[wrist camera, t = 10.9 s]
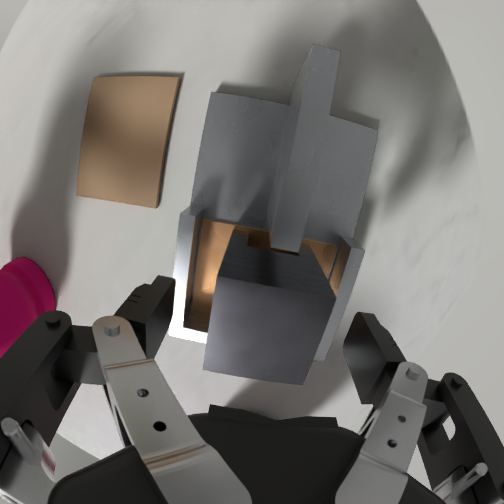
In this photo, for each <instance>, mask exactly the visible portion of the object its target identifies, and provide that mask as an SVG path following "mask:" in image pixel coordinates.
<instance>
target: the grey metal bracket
mask: <svg viewBox="0 0 504 504" xmlns="http://www.w3.org/2000/svg"><path fill="white" fill-rule="evenodd" d="M340 53H341V51H338V50H334V49H331V48H327V47H324V46H320V45H316V44H313V45H312V47H311V49H310V51H309V53H308V55H307V57H306V59H305V61H304V63H303V65H302V67H301V69H300V71H299V74H298V76H297V78H296V80H295V82H294V84H293V89H292V94H291V99H290V104H289V105H287V104H282V103H277V102H272V101H267V100H262V99H256V98H251V97H245V96H238V95H232V94H225V93H217V92H211V96H210V100H209V105H208V110H207V114H206V119H205V124H204V129H203V134H202V140H201V145H200V150H199V156H198V161H197V167H196V173H195V179H194V185H193V192H192V198H191V205H190V206H189V207H188V208H187V209H185V210H184V211H183V212H181V213H180V218H179V226H178V235H177V243H176V252H175V262H174V272H173V278H174V279H175V280H176V287H175V299H174V312H173V317H172V321H171V324H170V326H169V335H170V336H174V337H179V338H183V339H188V340H192V341H197V342H201V343H206V342H207V335H208V329H209V322H210V316H211V309H212V303H213V297H214V290H215V284H216V278H217V274H218V271H219V268H220V265H221V263H222V260H223V257H224V254H225V251H226V248H227V245H228V243H229V240H230V237H231V234H232V231H233V229H234V230H239V231H244V232H249V236H248V244H247V246H250V247H255V248H260V249H265V250H270V251H275V252H280V253H285V254H290V255H291V252H297V253H298V252H299V248H300V244H301V243H303V244H308V245H310V247H311V249H312V251H313V253H314V254H315V256H316V258H317V260H318V262H319V264H320V266H321V268H322V270H323V272H324V274H325V276H326V278H327V280H328V281H329V283H330V285H331V287H332V289H333V291H334V293H335V295H336V297H337V299H336V302H335V305H334V307H333V310H332V313H331V316H330V318H329V321H328V324H327V326H326V329H325V332H324V334H323V337H322V339H321V342H320V344H319V347H318V349H317V352H316V354H315V357H314V359H313V360H315V361H324V360H325V358H326V356H327V353H328V351H329V349H330V346H331V344H332V341H333V339H334V336H335V334H336V331H337V329H338V326H339V324H340V321H341V319H342V316H343V313H344V311H345V308H346V305H347V303H348V300H349V297H350V294H351V292H352V289H353V286H354V283H355V280H356V277H357V274H358V271H359V268H360V265H361V262H362V259H363V256H364V252H365V250H364V249H363V248H362V247H361V246H360V245H359V244H358V243H357V242H356V241H355V240H354V239H353V236H354V233H355V229H356V226H357V222H358V218H359V215H360V211H361V207H362V203H363V199H364V195H365V191H366V187H367V183H368V178H369V174H370V170H371V165H372V160H373V156H374V151H375V146H376V141H377V136H378V130H375V129H372V128H369V127H366V126H363V125H360V124H357V123H354V122H351V121H348V120H344V119H341V118H337V117H334V116H331V115H330V110H331V105H332V99H333V94H334V88H335V83H336V77H337V71H338V66H339V60H340Z"/></svg>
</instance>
